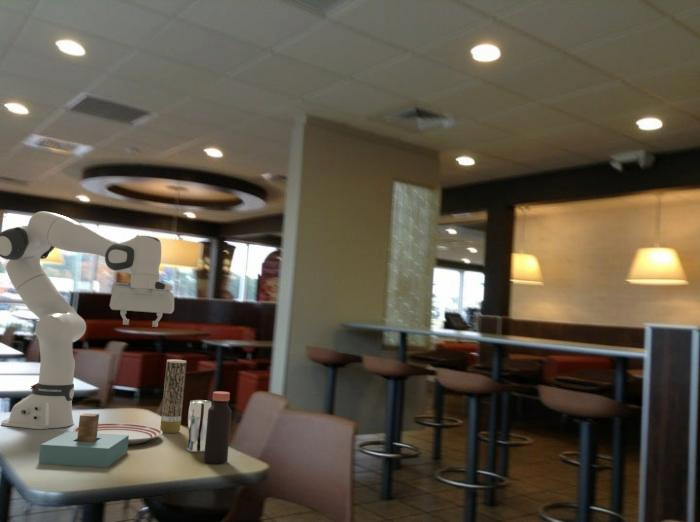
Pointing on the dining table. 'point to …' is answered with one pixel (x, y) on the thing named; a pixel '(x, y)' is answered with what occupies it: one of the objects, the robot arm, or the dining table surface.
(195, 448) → the silver drink can
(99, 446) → the socket block
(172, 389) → the paper tube
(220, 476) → the dining table surface
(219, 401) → the bottle
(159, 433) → the dinner plate
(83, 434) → the walnut peg
